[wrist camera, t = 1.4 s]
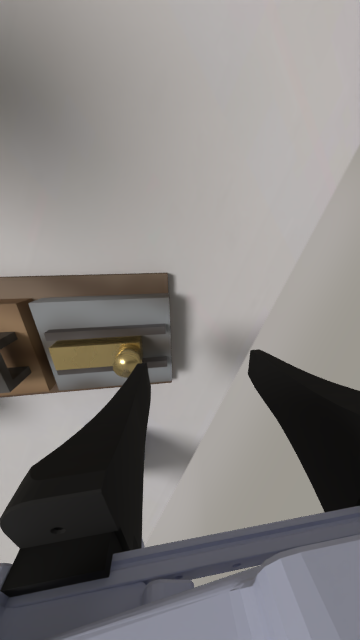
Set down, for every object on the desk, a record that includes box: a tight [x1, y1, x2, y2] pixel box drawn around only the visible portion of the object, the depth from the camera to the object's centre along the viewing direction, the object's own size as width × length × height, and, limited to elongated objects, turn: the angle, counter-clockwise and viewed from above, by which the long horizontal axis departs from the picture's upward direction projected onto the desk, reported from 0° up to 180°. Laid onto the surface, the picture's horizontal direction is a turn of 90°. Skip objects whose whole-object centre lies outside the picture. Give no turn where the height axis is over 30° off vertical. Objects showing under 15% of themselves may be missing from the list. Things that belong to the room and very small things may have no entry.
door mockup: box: [0, 273, 172, 397], centre depth 17 cm, size 14×26×6 cm, turn 91°
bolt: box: [48, 336, 143, 378], centre depth 16 cm, size 2×8×4 cm, turn 91°
